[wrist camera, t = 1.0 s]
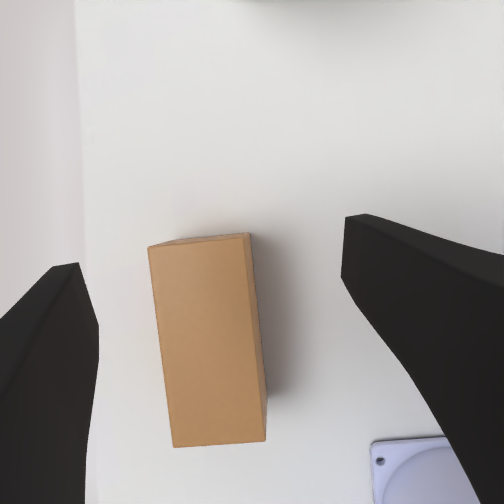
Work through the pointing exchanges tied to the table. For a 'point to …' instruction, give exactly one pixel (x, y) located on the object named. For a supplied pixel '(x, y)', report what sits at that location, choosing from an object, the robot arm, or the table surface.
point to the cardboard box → (210, 339)
